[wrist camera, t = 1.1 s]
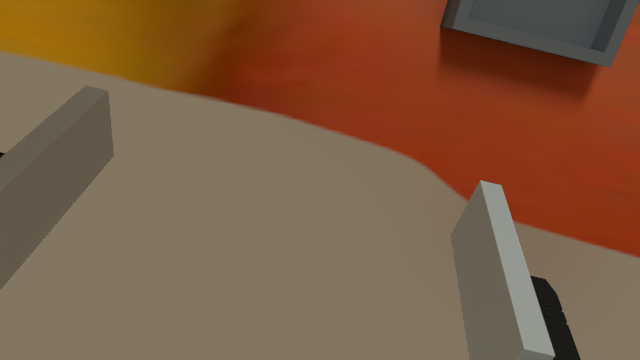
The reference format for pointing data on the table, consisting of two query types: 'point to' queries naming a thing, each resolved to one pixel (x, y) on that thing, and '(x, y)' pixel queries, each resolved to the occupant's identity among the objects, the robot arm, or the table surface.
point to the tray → (547, 25)
